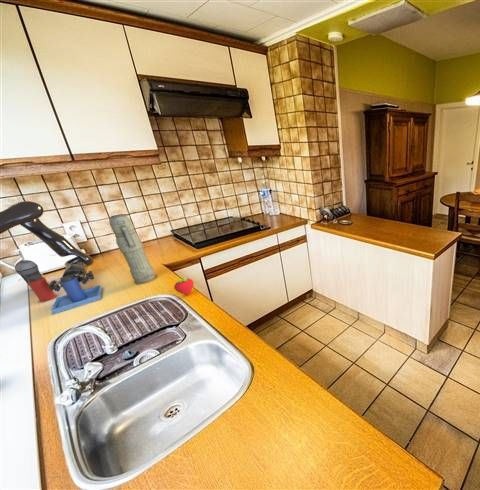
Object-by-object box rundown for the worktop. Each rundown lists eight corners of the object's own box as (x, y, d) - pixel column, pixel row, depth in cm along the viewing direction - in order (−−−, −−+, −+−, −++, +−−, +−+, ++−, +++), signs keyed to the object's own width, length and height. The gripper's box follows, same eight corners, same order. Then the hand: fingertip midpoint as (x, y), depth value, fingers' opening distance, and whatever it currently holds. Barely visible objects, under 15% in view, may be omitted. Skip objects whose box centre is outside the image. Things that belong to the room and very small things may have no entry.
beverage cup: (25, 290, 135) (2, 255, 127) (45, 283, 142) (24, 249, 134) (32, 292, 133) (8, 256, 125) (52, 285, 139) (31, 250, 131)
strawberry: (176, 296, 122) (169, 277, 118) (194, 288, 127) (188, 270, 123) (180, 300, 119) (172, 281, 115) (198, 293, 124) (192, 274, 120)
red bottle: (39, 303, 123) (24, 281, 118) (41, 298, 127) (27, 277, 122) (55, 298, 126) (41, 276, 121) (57, 294, 130) (43, 273, 125)
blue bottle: (70, 304, 120) (56, 281, 115) (72, 299, 124) (59, 277, 119) (86, 299, 123) (73, 276, 118) (87, 294, 127) (75, 273, 122)
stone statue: (140, 286, 133) (109, 219, 119) (131, 280, 138) (100, 216, 125) (160, 278, 139) (133, 214, 125) (150, 273, 145) (124, 211, 131)
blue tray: (53, 314, 115) (51, 310, 114) (58, 301, 124) (56, 297, 123) (100, 299, 123) (98, 295, 123) (102, 288, 133) (100, 285, 132)
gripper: (50, 272, 126) (42, 284, 114) (91, 262, 134) (88, 273, 122) (58, 285, 129) (52, 299, 117) (98, 274, 137) (95, 286, 125)
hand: (70, 285), depth 120 cm, fingers open, 8 cm apart
